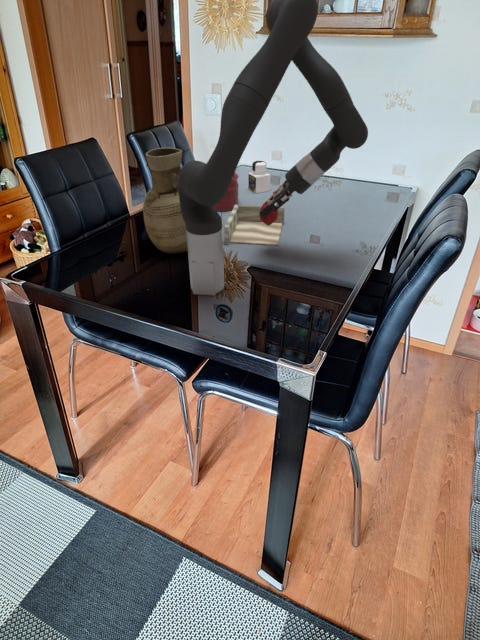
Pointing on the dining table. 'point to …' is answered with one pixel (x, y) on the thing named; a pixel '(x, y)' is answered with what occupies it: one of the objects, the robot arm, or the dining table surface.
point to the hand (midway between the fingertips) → (263, 211)
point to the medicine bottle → (259, 177)
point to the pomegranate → (271, 217)
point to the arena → (252, 226)
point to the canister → (229, 196)
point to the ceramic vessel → (165, 202)
